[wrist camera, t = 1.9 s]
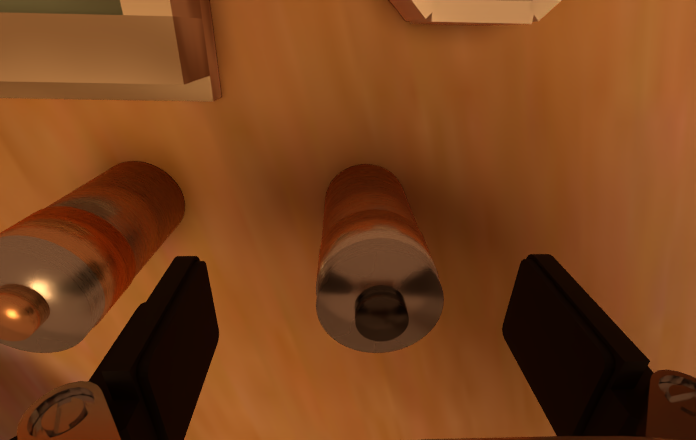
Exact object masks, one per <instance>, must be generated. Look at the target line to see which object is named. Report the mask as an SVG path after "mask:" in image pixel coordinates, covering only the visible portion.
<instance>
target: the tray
mask: <svg viewBox="0 0 696 440" xmlns="http://www.w3.org/2000/svg"><path fill="white" fill-rule="evenodd" d="M221 97H222V95H221V88H220V80H219V72H218V64H217V56H216V48H215V40H214V32H213V24H212V16H211V8H210V1H209V0H0V98H32V99H92V100H153V101H215V100H217V99H219V98H221Z"/></svg>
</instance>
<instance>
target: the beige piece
mask: <svg viewBox="0 0 696 440" xmlns="http://www.w3.org/2000/svg"><path fill="white" fill-rule="evenodd" d="M388 1H390V2H391V3H392V4H393V5H394V7H395V8H396V9H397V10H398V12H399V13H400V14H401V16H402V17H403V18H404V19H405V21H411V24H443V25H515V24H532V22H533V21H539V20H540V19H541V18H543V17H544V16H545V15H546V14H547V13H548V12H549V11H550V10H551V9H553V8H554V7H555V6H556V5H557V4H558V3H559V2H560V1H561V0H388Z"/></svg>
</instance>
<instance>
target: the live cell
mask: <svg viewBox="0 0 696 440" xmlns="http://www.w3.org/2000/svg"><path fill="white" fill-rule="evenodd" d="M184 212H185V201H184V197H183V194H182V192H181V190H180V188H179V186H178V185H177V183H176V182H175V181H174V180H173V179H172V177H170V176H169V175H168V174H167V173H166V172H164V171H163V170H161V169H160V168H158V167H156V166H154V165H151V164H148V163H144V162H138V161H129V162H123V163H120V164H118V165H116V166H114V167H112V168H111V169H109V170H107V171H106V172H104V173H102V174H101V175H99V176H97V177H96V178H94V179H92V180H91V181H89V182H87V183H86V184H84V185H82V186H81V187H79V188H77V189H76V190H74V191H72V192H71V193H69V194H67V195H66V196H64V197H62V198H61V199H59V200H57V201H56V202H54V203H53V204H51V205H49V206H48V207H46V208H44V209H41V210H39V211H37V212H35V213H33V214H31V215H30V216H28V217H26V218H24V219H23V220H21V221H19V222H18V223H16V224H14V225H13V226H11V227H9V228H8V229H6V230H4V231H3V232H1V233H0V343H2V344H4V345H7V346H10V347H13V348H16V349H19V350H24V351H29V352H36V353H52V352H59V351H63V350H67V349H69V348H71V347H73V346H75V345H77V344H78V343H79V342H81V341H82V340H83V339H84V337H85V336H86V335H87V334H88V333H89V331H90V330H91V329H92V328H93V327H95V326H96V325H97V324H98V323H99V322H100V321H101V319H102V318H103V317H104V316H105V315H106V313H107V312H108V311H109V310H110V309H111V307H112V306H113V305H114V304H115V302H116V301H117V300H118V299H119V298H120V296H121V295H122V294H123V293H124V292H125V290H126V289H127V288H128V287H129V285H130V284H131V283H132V281H133V279H134V277H135V276H136V275H137V274H138V273H139V271H140V270H141V269H142V268H143V267H144V265H145V264H146V263H147V262H148V261H149V259H150V258H151V257H152V256H153V255H154V253H155V252H156V251H157V250H158V249H159V247H160V246H161V245H162V244H163V243H164V241H165V240H166V239H167V238H168V237H169V235H170V234H171V233H172V232H173V231H174V229H175V228H176V227H177V226H178V225H179V223H180V222H181V220H182V218H183V216H184Z"/></svg>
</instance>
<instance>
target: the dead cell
mask: <svg viewBox="0 0 696 440" xmlns="http://www.w3.org/2000/svg"><path fill="white" fill-rule="evenodd" d="M316 295H317V299H316V310H317V315H318V319H319V321H320V323H321V325H322V327H323V328H324V330H325V331H326V332H327V333H328V334H329V335H330V336H331V337H332V338H333V339H334V340H336V341H337V342H339V343H340V344H342V345H344V346H346V347H349V348H351V349H354V350H358V351H362V352H370V353H383V352H391V351H395V350H399V349H402V348H405V347H408V346H410V345H412V344H414V343H416V342H417V341H419V340H420V339H422V338H423V337H424V336H426V335H427V334H428V333H429V332H430V331H431V330H432V328H433V327H434V326H435V325H436V323H437V321H438V320H439V317H440V315H441V313H442V309H443V301H444V298H443V291H442V287H441V284H440V282H439V277H438V273H437V270H436V267H435V265H434V262H433V260H432V257H431V255H430V252H429V250H428V247H427V245H426V242H425V240H424V238H423V235H422V234H421V232H420V230H419V228H418V226H417V223H416V221H415V218H414V216H413V213H412V211H411V208H410V206H409V203H408V201H407V198H406V195H405V193H404V190H403V188H402V186H401V184H400V182H399V180H398V179H397V178H396V177H395V176H394V175H393V174H392V173H391V172H390V171H388V170H387V169H385V168H383V167H380V166H377V165H371V164H361V165H355V166H352V167H349V168H347V169H345V170H344V171H342V172H341V173H339V174H338V175H337V176H336V177H335V178H334V179H333V180H332V182H331V183H330V185H329V187H328V189H327V192H326V197H325V208H324V220H323V231H322V242H321V246H320V251H319V261H318V271H317V282H316Z"/></svg>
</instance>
